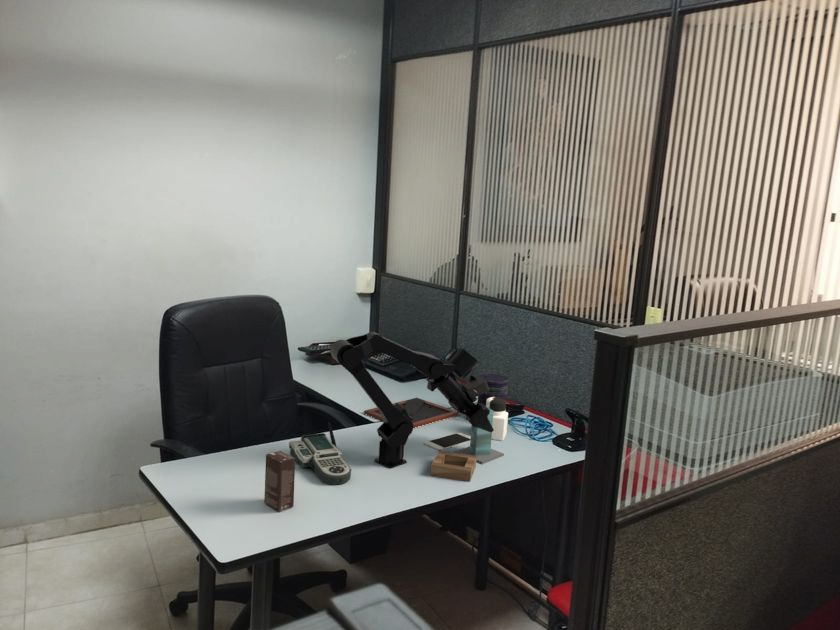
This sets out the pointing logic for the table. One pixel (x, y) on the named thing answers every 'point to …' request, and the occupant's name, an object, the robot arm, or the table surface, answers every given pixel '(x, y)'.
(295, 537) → the table surface
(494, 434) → the medicine bottle
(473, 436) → the peg
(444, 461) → the pocket block
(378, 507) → the table surface
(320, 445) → the communication device
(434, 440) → the smartphone
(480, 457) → the mat
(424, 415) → the picture frame
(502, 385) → the storage jar
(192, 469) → the table surface
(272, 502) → the box
